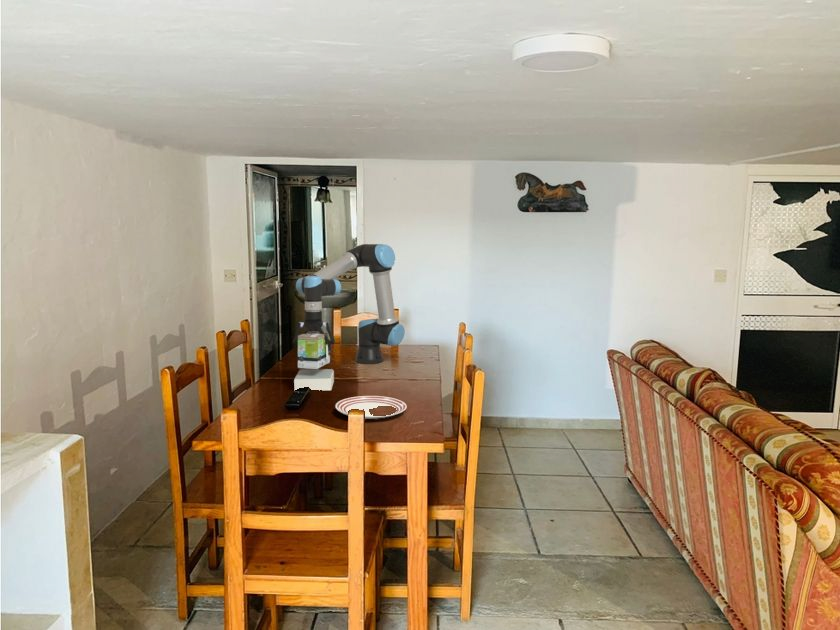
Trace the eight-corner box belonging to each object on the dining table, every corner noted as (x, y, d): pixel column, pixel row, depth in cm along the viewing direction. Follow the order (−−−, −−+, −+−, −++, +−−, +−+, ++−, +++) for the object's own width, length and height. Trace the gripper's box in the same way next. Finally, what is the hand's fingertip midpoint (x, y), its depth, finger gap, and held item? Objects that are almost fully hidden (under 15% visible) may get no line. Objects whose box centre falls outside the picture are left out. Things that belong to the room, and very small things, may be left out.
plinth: (333, 381, 268) (333, 368, 268) (331, 390, 253) (330, 377, 252) (299, 381, 267) (299, 369, 266) (294, 390, 251) (294, 377, 251)
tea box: (318, 369, 250) (318, 336, 248) (297, 368, 252) (296, 335, 250) (330, 362, 265) (330, 331, 263) (310, 361, 267) (309, 330, 265)
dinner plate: (406, 402, 235) (406, 394, 235) (406, 423, 208) (407, 415, 208) (339, 402, 235) (339, 395, 234) (331, 424, 207) (331, 415, 207)
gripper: (285, 311, 251) (286, 360, 254) (339, 311, 253) (339, 360, 255) (287, 309, 258) (289, 357, 261) (340, 309, 260) (340, 356, 263)
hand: (314, 358), depth 258 cm, fingers closed on tea box, 11 cm apart
